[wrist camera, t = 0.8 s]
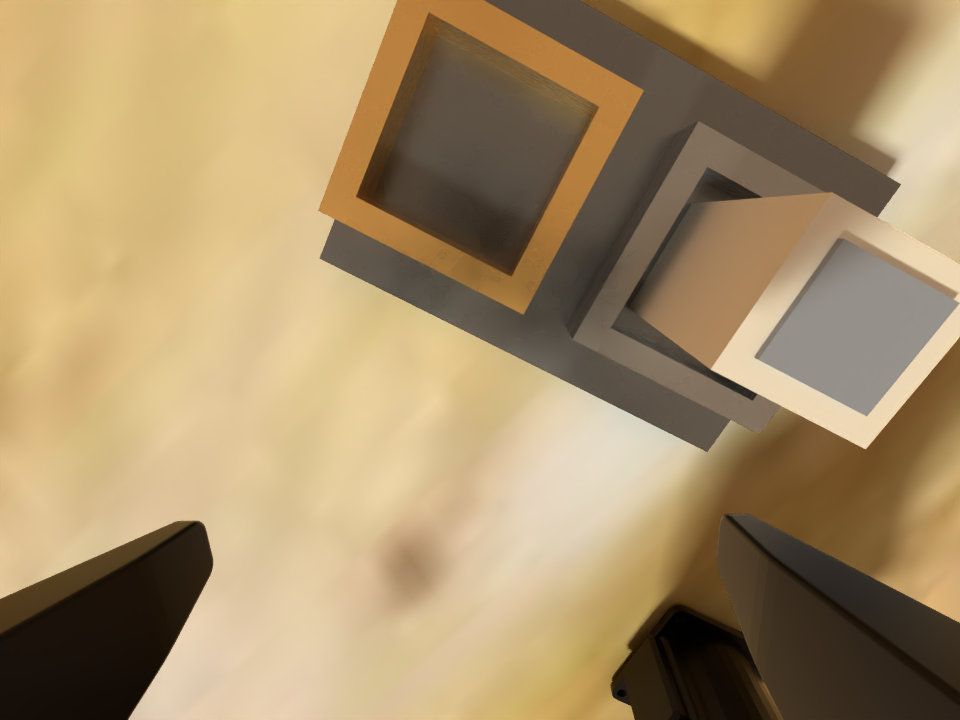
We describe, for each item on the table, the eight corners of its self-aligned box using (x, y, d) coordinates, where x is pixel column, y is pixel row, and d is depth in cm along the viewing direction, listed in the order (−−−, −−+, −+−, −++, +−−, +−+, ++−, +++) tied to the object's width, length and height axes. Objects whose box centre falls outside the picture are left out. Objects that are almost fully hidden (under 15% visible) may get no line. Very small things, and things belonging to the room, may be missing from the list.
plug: (792, 257, 18) (1010, 288, 10) (723, 357, 19) (871, 453, 11) (691, 203, 18) (838, 191, 10) (628, 308, 19) (714, 372, 11)
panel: (880, 186, 18) (950, 180, 15) (698, 441, 21) (727, 476, 19) (452, -58, 17) (440, -115, 14) (328, 256, 20) (298, 262, 17)
